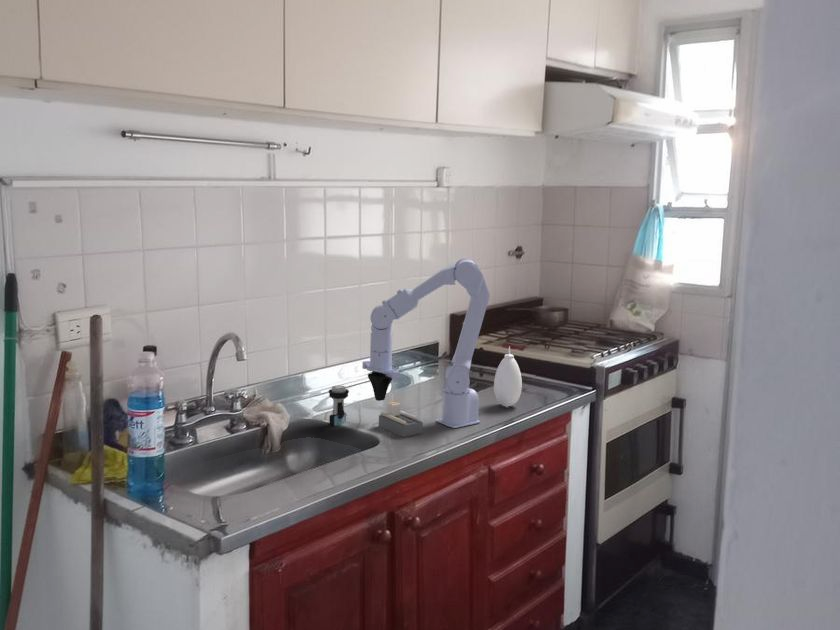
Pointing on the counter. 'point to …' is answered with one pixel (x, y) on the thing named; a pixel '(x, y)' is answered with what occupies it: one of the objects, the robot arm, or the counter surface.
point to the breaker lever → (393, 408)
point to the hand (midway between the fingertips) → (380, 399)
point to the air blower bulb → (508, 381)
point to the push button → (338, 405)
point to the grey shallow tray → (401, 423)
